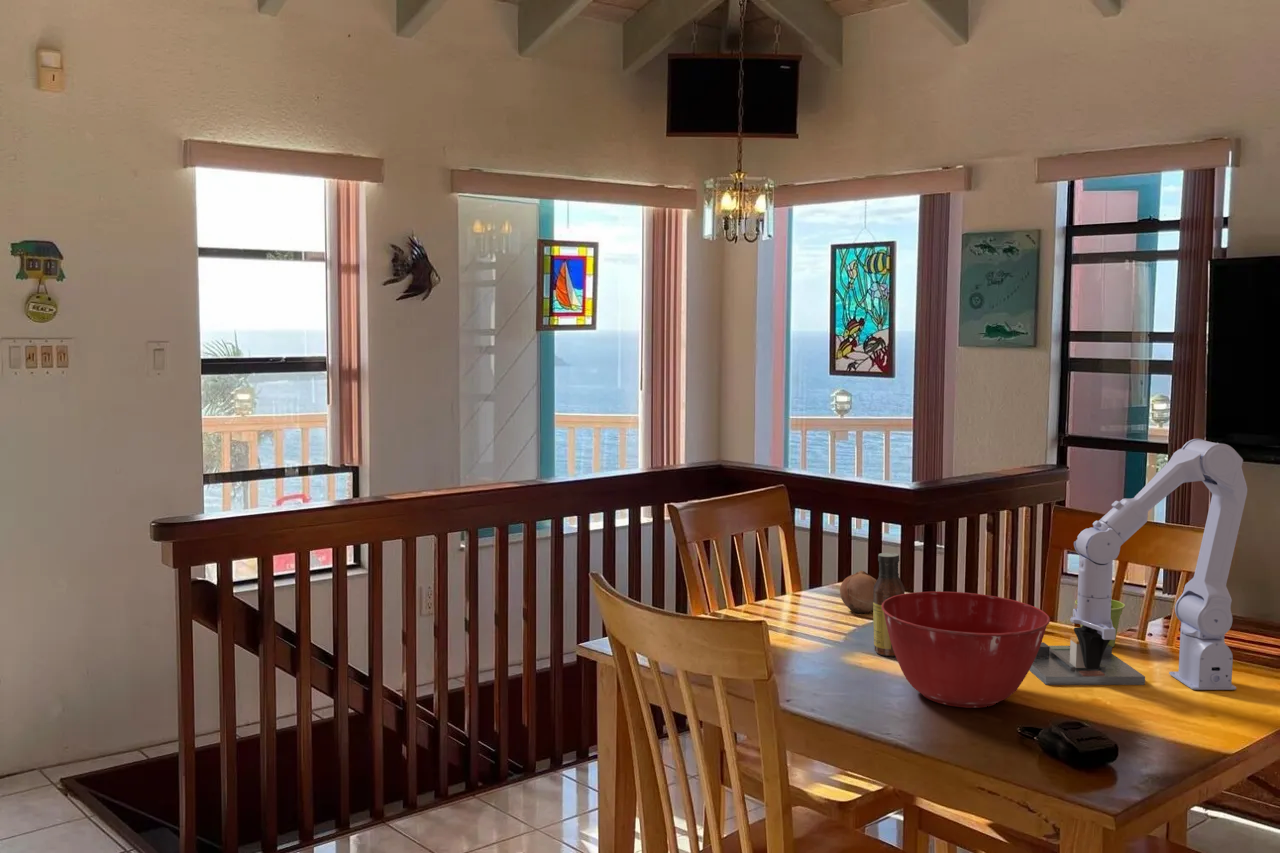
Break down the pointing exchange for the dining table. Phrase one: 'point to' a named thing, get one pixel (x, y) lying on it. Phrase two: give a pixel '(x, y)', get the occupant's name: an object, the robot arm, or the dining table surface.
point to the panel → (1082, 669)
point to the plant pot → (1114, 616)
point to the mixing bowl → (964, 644)
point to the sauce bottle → (883, 590)
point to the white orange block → (1076, 653)
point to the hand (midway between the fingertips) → (1091, 668)
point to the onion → (858, 592)
